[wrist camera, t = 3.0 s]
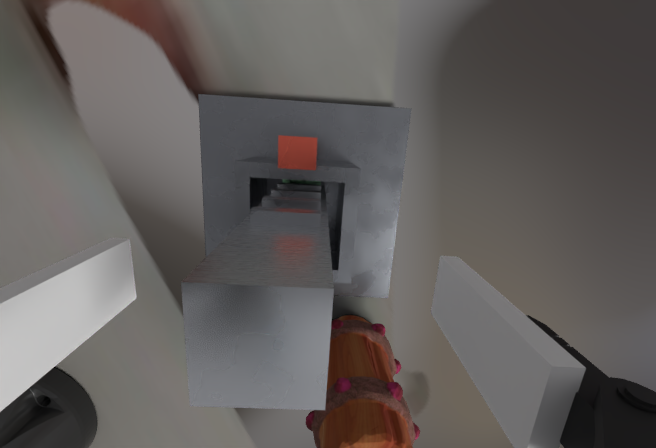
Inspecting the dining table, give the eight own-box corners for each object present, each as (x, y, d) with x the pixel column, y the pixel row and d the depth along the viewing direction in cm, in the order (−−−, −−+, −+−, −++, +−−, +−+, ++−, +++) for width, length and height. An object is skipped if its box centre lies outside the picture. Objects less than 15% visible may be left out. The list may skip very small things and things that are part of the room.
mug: (298, 318, 32) (279, 462, 18) (369, 289, 32) (410, 414, 17) (351, 418, 36) (371, 605, 21) (416, 394, 35) (483, 571, 21)
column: (279, 225, 28) (189, 405, 9) (280, 176, 27) (179, 260, 8) (322, 228, 28) (325, 409, 9) (325, 178, 27) (335, 268, 8)
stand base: (210, 285, 31) (167, 341, 22) (202, 95, 26) (144, 73, 18) (385, 293, 32) (410, 350, 23) (408, 109, 27) (449, 94, 18)
